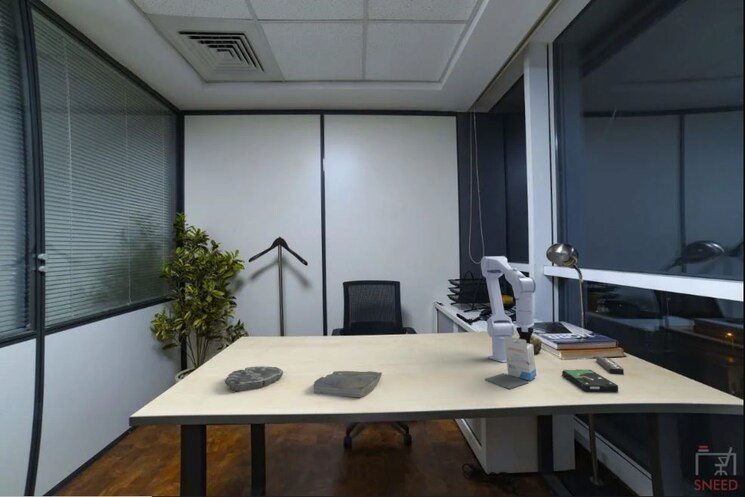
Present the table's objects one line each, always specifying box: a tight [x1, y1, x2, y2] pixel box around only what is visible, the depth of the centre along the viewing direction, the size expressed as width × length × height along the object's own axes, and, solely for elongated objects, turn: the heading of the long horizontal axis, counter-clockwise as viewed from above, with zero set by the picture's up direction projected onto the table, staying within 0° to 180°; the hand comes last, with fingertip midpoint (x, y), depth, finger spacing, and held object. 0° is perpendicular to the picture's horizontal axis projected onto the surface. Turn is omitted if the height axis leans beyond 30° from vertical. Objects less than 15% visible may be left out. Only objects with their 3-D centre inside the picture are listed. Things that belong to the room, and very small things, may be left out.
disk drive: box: [561, 369, 619, 393], centre depth 111 cm, size 10×3×15 cm
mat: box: [484, 373, 529, 390], centre depth 113 cm, size 10×10×1 cm
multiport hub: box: [595, 356, 625, 375], centre depth 126 cm, size 4×14×2 cm, turn 163°
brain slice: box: [224, 365, 284, 392], centre depth 116 cm, size 20×17×3 cm
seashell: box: [518, 334, 543, 354], centre depth 148 cm, size 11×9×8 cm
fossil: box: [313, 370, 383, 398], centre depth 111 cm, size 20×5×17 cm
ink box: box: [504, 336, 537, 382], centre depth 117 cm, size 8×5×15 cm, turn 39°
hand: (525, 347), depth 119 cm, fingers closed
